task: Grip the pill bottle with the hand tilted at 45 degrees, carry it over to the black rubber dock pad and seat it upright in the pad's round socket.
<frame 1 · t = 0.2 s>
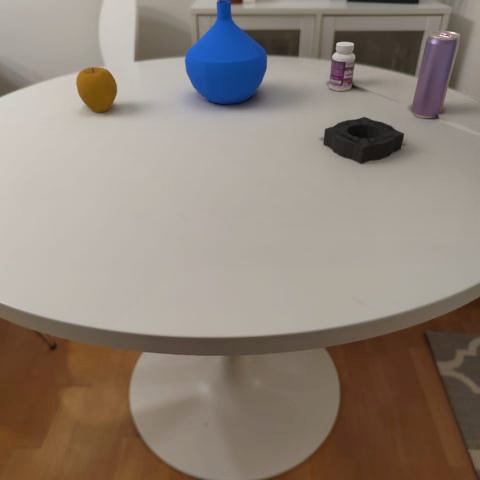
dock pad: (361, 146, 85), on the table
apple: (102, 110, 103), on the table
pill bottle: (340, 88, 109), on the table
beverage can: (425, 114, 96), on the table
vase: (227, 97, 107), on the table
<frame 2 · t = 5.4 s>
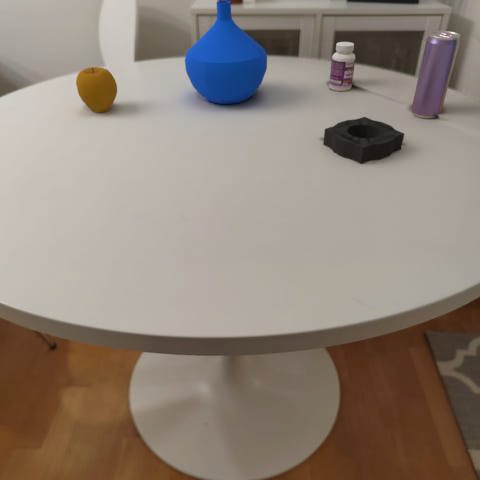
nothing on the table moved.
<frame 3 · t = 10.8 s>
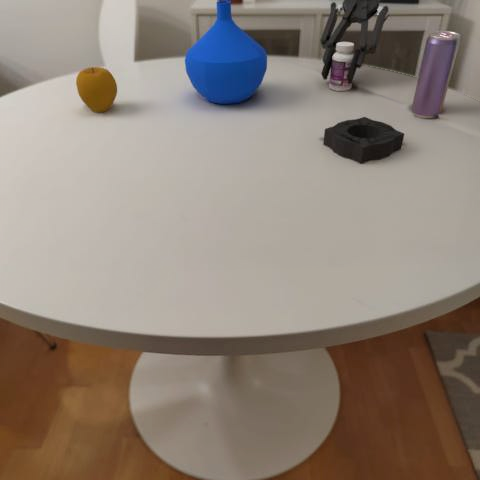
hand: (336, 77, 105), 3 cm above the table, tool tilted 45°, fingers closed on pill bottle, 5 cm apart
pill bottle: (340, 88, 109), on the table, touching gripper
everything else where it was.
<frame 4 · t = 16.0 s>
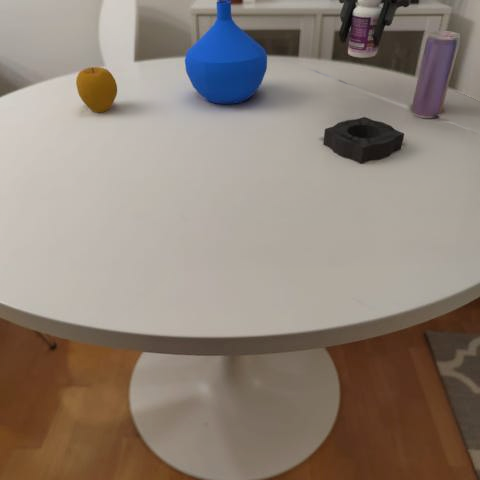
hand: (358, 39, 80), 16 cm above the table, tool tilted 45°, fingers closed on pill bottle, 5 cm apart
pill bottle: (362, 55, 85), point 13 cm above the table, touching gripper
everything else where it was.
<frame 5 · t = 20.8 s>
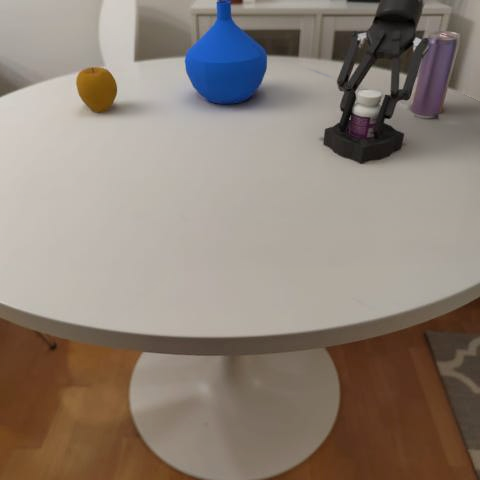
hand: (358, 131, 79), 4 cm above the table, tool tilted 45°, fingers closed on pill bottle, 5 cm apart
pill bottle: (361, 147, 85), resting in dock pad, touching gripper
everything else where it was.
when the fingers open (4 cm above the table, at t = 21.5 s): pill bottle stays where it is, resting in dock pad.
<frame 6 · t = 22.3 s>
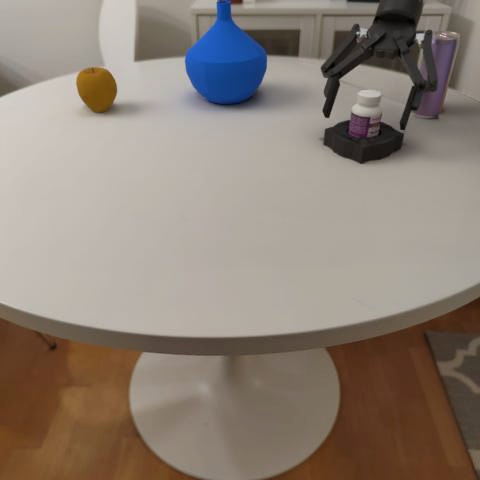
hand: (362, 120, 79), 6 cm above the table, tool tilted 45°, fingers open, 13 cm apart
pill bottle: (361, 147, 85), resting in dock pad
everything else where it was.
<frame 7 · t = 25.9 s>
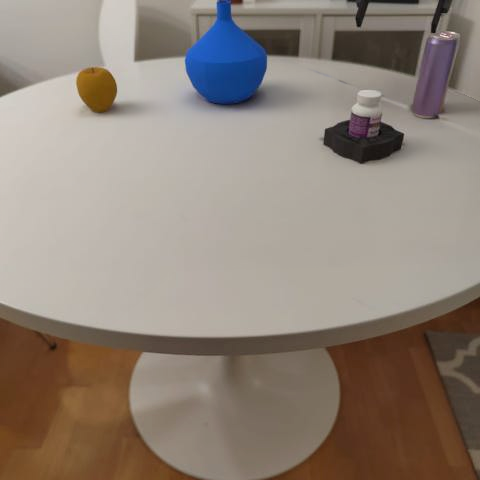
hand: (394, 25, 83), 17 cm above the table, tool tilted 45°, fingers open, 13 cm apart
nothing on the table moved.
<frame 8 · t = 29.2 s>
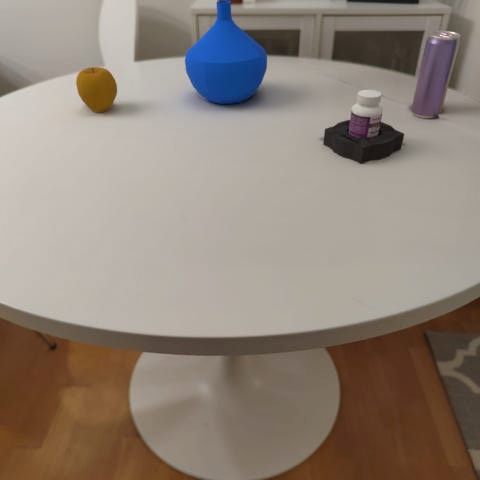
nothing on the table moved.
at the end: pill bottle 0.1 cm off-centre in the dock pad, point 0.0 cm above the dock pad's base; pill bottle tilted 0°; the gripper is holding nothing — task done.
